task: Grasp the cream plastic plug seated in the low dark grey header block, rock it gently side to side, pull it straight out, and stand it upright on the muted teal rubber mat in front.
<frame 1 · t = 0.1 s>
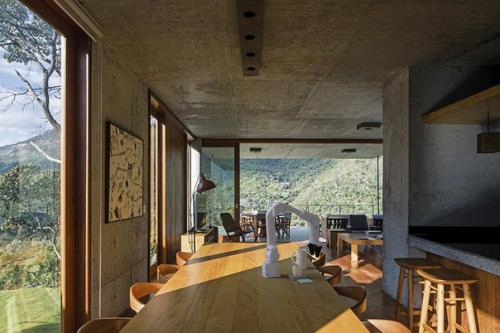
hand: (314, 256, 241), 10 cm above the table, tool pointing down, fingers open, 7 cm apart
mat: (305, 281, 219), on the table
mug: (299, 268, 255), on the table
header: (297, 277, 228), on the table
plug: (297, 278, 228), resting in header
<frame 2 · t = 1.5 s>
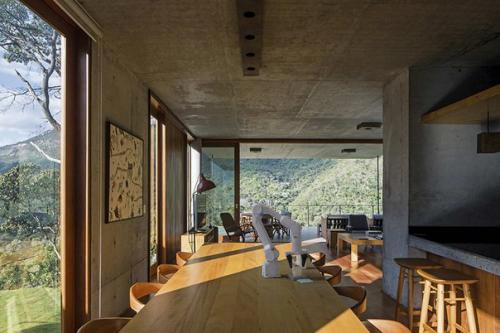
hand: (297, 267, 228), 6 cm above the table, tool pointing down, fingers open, 7 cm apart
nothing on the table moved.
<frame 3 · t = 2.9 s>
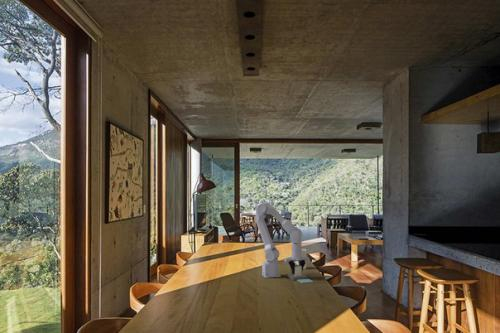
hand: (297, 273, 228), 2 cm above the table, tool pointing down, fingers closed on plug, 4 cm apart
plug: (297, 277, 228), resting in header, touching gripper
everything else where it was.
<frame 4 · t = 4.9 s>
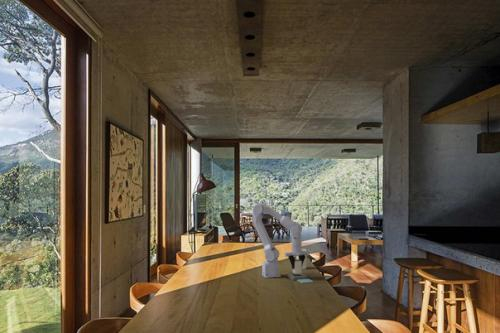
hand: (296, 268, 228), 5 cm above the table, tool pointing down, fingers closed on plug, 4 cm apart
plug: (297, 272, 228), point 3 cm above the table, touching gripper
everything else where it was.
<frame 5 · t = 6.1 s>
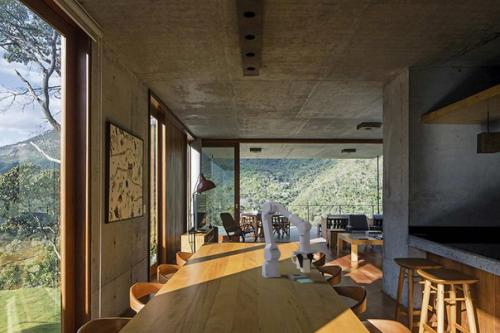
hand: (305, 267, 219), 8 cm above the table, tool pointing down, fingers closed on plug, 4 cm apart
plug: (305, 271, 219), point 5 cm above the table, touching gripper
everything else where it was.
when the fingers open (4 cm above the table, at t = 7.0 s): plug drops 1 cm, resting on mat.
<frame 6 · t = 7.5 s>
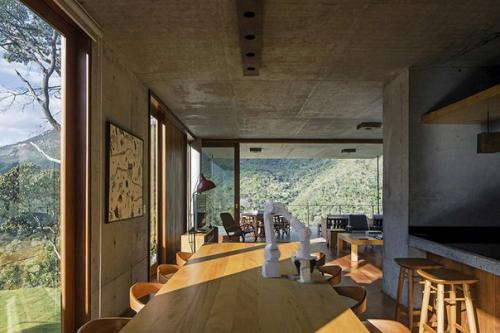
hand: (305, 273, 219), 4 cm above the table, tool pointing down, fingers open, 7 cm apart
plug: (305, 280, 219), resting on mat
everything else where it was.
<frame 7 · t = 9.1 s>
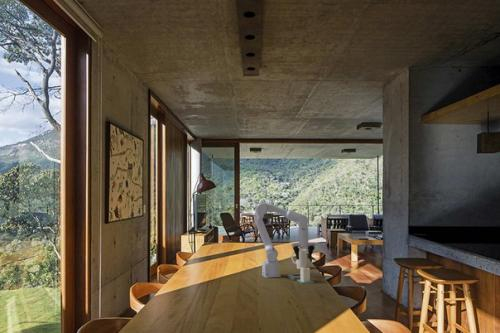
hand: (303, 258, 231), 10 cm above the table, tool pointing down, fingers open, 7 cm apart
nothing on the table moved.
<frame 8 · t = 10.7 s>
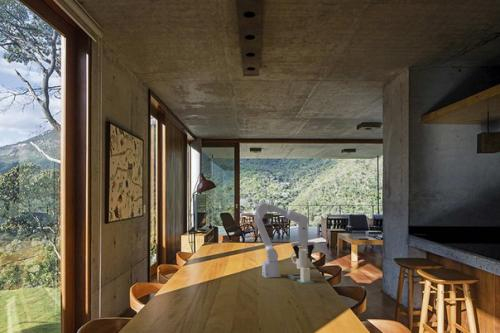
hand: (303, 258, 234), 10 cm above the table, tool pointing down, fingers open, 7 cm apart
nothing on the table moved.
at the end: plug 0.2 cm off-centre on the mat, point 0.5 cm above the mat's base; plug tilted 0°; the gripper is holding nothing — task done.
